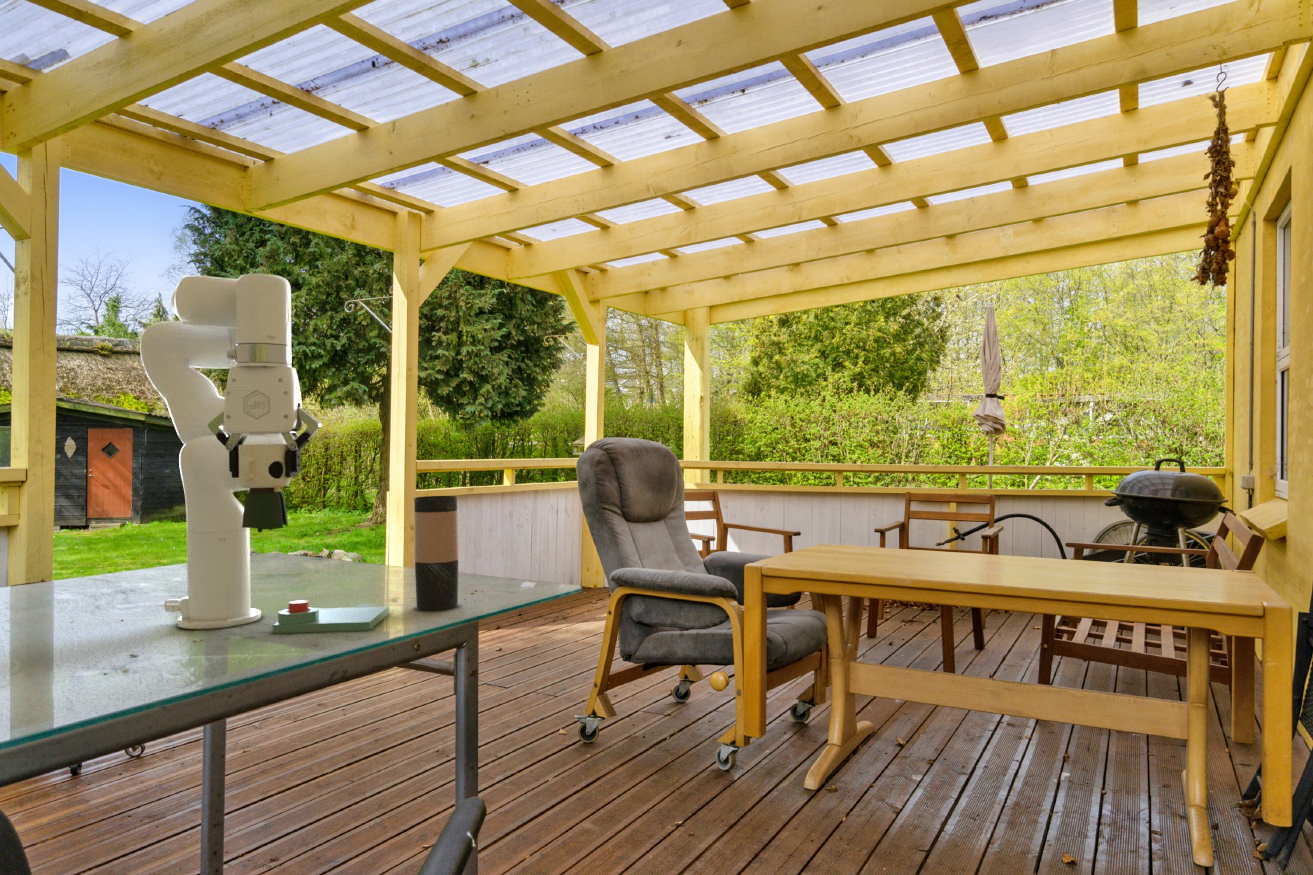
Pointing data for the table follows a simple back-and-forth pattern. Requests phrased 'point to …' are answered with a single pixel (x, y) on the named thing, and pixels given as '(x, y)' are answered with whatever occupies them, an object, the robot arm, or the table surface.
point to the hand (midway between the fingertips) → (265, 476)
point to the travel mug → (436, 552)
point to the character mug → (263, 485)
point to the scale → (330, 619)
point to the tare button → (298, 606)
